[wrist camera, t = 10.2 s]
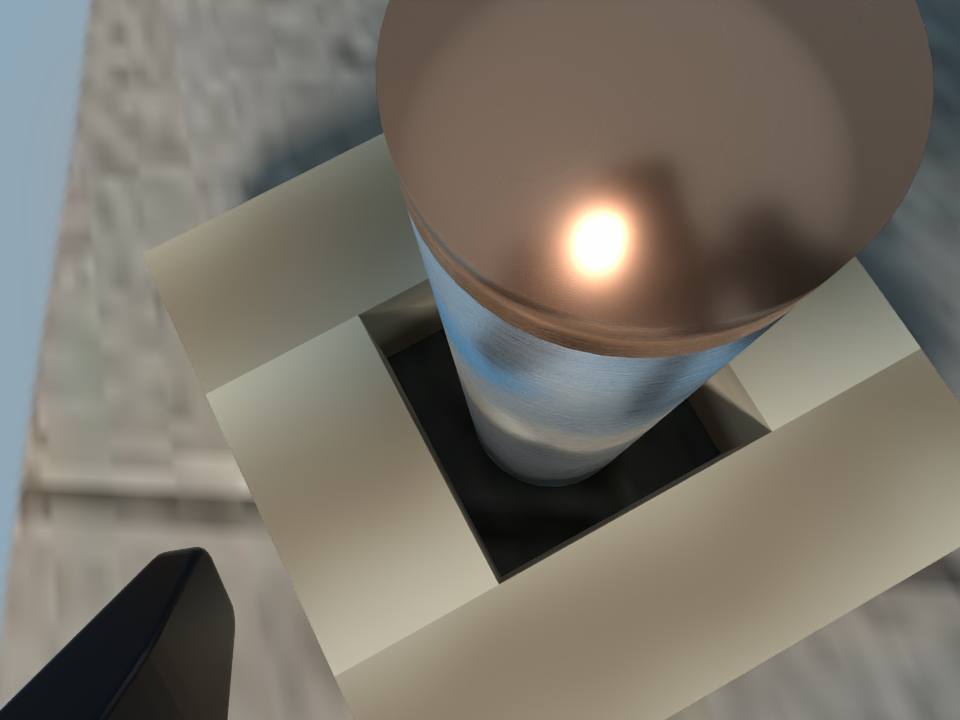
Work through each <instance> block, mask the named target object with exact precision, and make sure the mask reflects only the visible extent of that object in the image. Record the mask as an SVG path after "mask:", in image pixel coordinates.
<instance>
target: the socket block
mask: <svg viewBox="0 0 960 720" xmlns="http://www.w3.org/2000/svg"><path fill="white" fill-rule="evenodd" d="M142 256H143V258H144V261H145V263H146V265H147V267H148V269H149V272H150V274H151V276H152V278H153V280H154V283H155V285H156V287H157V289H158V291H159V293H160V296H161V298H162V300H163V302H164V304H165V307H166V309H167V311H168V313H169V315H170V318H171V320H172V322H173V324H174V326H175V328H176V331H177V333H178V335H179V337H180V339H181V342H182V344H183V346H184V348H185V350H186V353H187V355H188V357H189V359H190V361H191V364H192V366H193V368H194V370H195V372H196V374H197V377H198V379H199V381H200V383H201V385H202V388H203V390H204V392H205V394H206V396H207V399H208V401H209V403H210V405H211V407H212V409H213V412H214V414H215V416H216V418H217V420H218V423H219V425H220V427H221V429H222V431H223V434H224V436H225V438H226V440H227V442H228V444H229V447H230V449H231V451H232V453H233V455H234V458H235V460H236V462H237V464H238V466H239V469H240V471H241V473H242V475H243V477H244V480H245V482H246V484H247V486H248V488H249V490H250V493H251V495H252V497H253V499H254V501H255V504H256V506H257V508H258V510H259V512H260V515H261V517H262V519H263V521H264V523H265V525H266V528H267V530H268V532H269V534H270V536H271V539H272V541H273V543H274V545H275V547H276V550H277V552H278V554H279V556H280V558H281V560H282V563H283V565H284V567H285V569H286V571H287V574H288V576H289V578H290V580H291V582H292V585H293V587H294V589H295V591H296V593H297V595H298V598H299V600H300V602H301V604H302V606H303V609H304V611H305V613H306V615H307V617H308V620H309V622H310V624H311V626H312V628H313V631H314V633H315V635H316V637H317V639H318V641H319V644H320V646H321V648H322V650H323V652H324V655H325V657H326V659H327V661H328V663H329V666H330V668H331V670H332V672H333V674H334V676H335V679H336V681H337V683H338V685H339V687H340V690H341V692H342V694H343V696H344V698H345V701H346V703H347V705H348V707H349V709H350V711H351V714H352V716H353V718H354V720H666V719H667V718H669V717H671V716H672V715H674V714H676V713H677V712H679V711H681V710H683V709H684V708H686V707H688V706H689V705H691V704H693V703H695V702H696V701H698V700H700V699H701V698H703V697H705V696H706V695H708V694H710V693H712V692H713V691H715V690H717V689H718V688H720V687H722V686H724V685H725V684H727V683H729V682H730V681H732V680H734V679H735V678H737V677H739V676H741V675H742V674H744V673H746V672H747V671H749V670H751V669H753V668H754V667H756V666H758V665H759V664H761V663H763V662H764V661H766V660H768V659H770V658H771V657H773V656H775V655H776V654H778V653H780V652H781V651H783V650H785V649H787V648H788V647H790V646H792V645H793V644H795V643H797V642H799V641H800V640H802V639H804V638H805V637H807V636H809V635H810V634H812V633H814V632H816V631H817V630H819V629H821V628H822V627H824V626H826V625H828V624H829V623H831V622H833V621H834V620H836V619H838V618H839V617H841V616H843V615H845V614H846V613H848V612H850V611H851V610H853V609H855V608H857V607H858V606H860V605H862V604H863V603H865V602H867V601H868V600H870V599H872V598H874V597H875V596H877V595H879V594H880V593H882V592H884V591H885V590H887V589H889V588H891V587H892V586H894V585H896V584H897V583H899V582H901V581H903V580H904V579H906V578H908V577H909V576H911V575H913V574H914V573H916V572H918V571H920V570H921V569H923V568H925V567H926V566H928V565H930V564H932V563H933V562H935V561H937V560H938V559H940V558H942V557H943V556H945V555H947V554H949V553H950V552H952V551H954V550H955V549H957V548H959V547H960V402H959V401H958V400H957V398H956V397H955V395H954V394H953V392H952V391H951V390H950V388H949V387H948V385H947V384H946V383H945V381H944V380H943V378H942V377H941V376H940V374H939V373H938V371H937V370H936V369H935V367H934V366H933V364H932V363H931V361H930V360H929V359H928V357H927V356H926V354H925V353H924V352H923V350H922V349H921V347H920V346H919V345H918V343H917V342H916V340H915V339H914V338H913V336H912V335H911V333H910V332H909V331H908V329H907V328H906V326H905V325H904V323H903V322H902V321H901V319H900V318H899V316H898V315H897V314H896V312H895V311H894V309H893V308H892V307H891V305H890V304H889V302H888V301H887V300H886V298H885V297H884V295H883V294H882V292H881V291H880V290H879V288H878V287H877V285H876V284H875V283H874V281H873V280H872V278H871V277H870V276H869V274H868V273H867V271H866V270H865V269H864V267H863V266H862V264H861V263H860V262H859V260H858V259H857V257H856V256H855V257H854V258H853V259H851V260H850V261H849V262H848V263H847V264H846V265H844V266H843V267H842V268H841V269H840V270H839V271H837V272H836V273H835V274H834V275H833V276H831V277H830V278H829V279H828V280H827V281H825V282H824V283H823V284H822V285H821V286H820V287H818V288H817V289H816V290H815V291H814V292H812V293H811V294H810V295H809V296H808V297H806V298H805V299H804V300H803V301H802V302H800V303H799V304H798V305H797V306H796V307H795V308H793V309H792V310H791V311H790V312H789V313H787V314H786V315H785V316H784V317H783V318H781V319H780V320H779V321H778V322H777V323H775V324H774V325H773V326H772V327H771V328H769V329H768V330H767V331H766V332H765V333H764V334H762V335H761V336H760V337H759V338H758V339H756V340H755V341H754V342H753V343H752V344H750V345H749V346H748V347H747V348H746V349H744V350H743V351H742V352H741V353H740V354H739V355H737V356H736V357H735V358H734V359H733V360H731V361H730V362H729V363H728V364H727V365H725V366H724V367H723V368H722V369H721V370H719V371H718V372H717V373H716V374H715V375H713V376H712V377H711V378H710V379H709V380H708V381H706V382H705V383H704V384H703V385H702V386H700V387H699V388H698V389H697V390H696V391H694V392H693V393H692V394H691V395H690V396H688V397H687V400H688V402H689V403H690V405H691V406H692V408H693V410H694V411H695V413H696V415H697V416H698V418H699V419H700V421H701V423H702V424H703V426H704V428H705V429H706V431H707V432H708V434H709V436H710V437H711V439H712V440H713V442H714V444H715V445H716V447H717V449H718V450H719V452H720V453H721V454H720V455H718V456H716V457H715V458H713V459H711V460H709V461H707V462H706V463H704V464H702V465H700V466H699V467H697V468H695V469H693V470H691V471H690V472H688V473H686V474H684V475H682V476H681V477H679V478H677V479H675V480H673V481H672V482H670V483H668V484H666V485H665V486H663V487H661V488H659V489H657V490H656V491H654V492H652V493H650V494H648V495H647V496H645V497H643V498H641V499H640V500H638V501H636V502H634V503H632V504H631V505H629V506H627V507H625V508H623V509H622V510H620V511H618V512H616V513H614V514H613V515H611V516H609V517H607V518H606V519H604V520H602V521H600V522H598V523H597V524H595V525H593V526H591V527H589V528H588V529H586V530H584V531H582V532H580V533H579V534H577V535H575V536H573V537H572V538H570V539H568V540H566V541H564V542H563V543H561V544H559V545H557V546H555V547H554V548H552V549H550V550H548V551H547V552H545V553H543V554H541V555H539V556H538V557H536V558H534V559H532V560H530V561H529V562H527V563H525V564H523V565H521V566H520V567H518V568H516V569H514V570H513V571H511V572H509V573H507V574H505V575H504V576H502V577H501V575H500V573H499V571H498V569H497V567H496V565H495V564H494V562H493V560H492V558H491V556H490V554H489V552H488V550H487V548H486V546H485V544H484V543H483V541H482V539H481V537H480V535H479V533H478V531H477V529H476V527H475V525H474V524H473V522H472V520H471V518H470V516H469V514H468V512H467V510H466V508H465V506H464V504H463V503H462V501H461V499H460V497H459V495H458V493H457V491H456V489H455V487H454V485H453V483H452V482H451V480H450V478H449V476H448V474H447V472H446V470H445V468H444V466H443V464H442V463H441V461H440V459H439V457H438V455H437V453H436V451H435V449H434V447H433V445H432V443H431V442H430V440H429V438H428V436H427V434H426V432H425V430H424V428H423V426H422V424H421V422H420V421H419V419H418V417H417V415H416V413H415V411H414V409H413V407H412V405H411V403H410V402H409V400H408V398H407V396H406V394H405V392H404V390H403V388H402V386H401V384H400V382H399V381H398V379H397V377H396V375H395V373H394V371H393V369H392V367H391V365H390V363H389V361H388V360H387V358H389V357H390V356H392V355H394V354H396V353H398V352H400V351H402V350H404V349H406V348H408V347H409V346H411V345H413V344H415V343H417V342H419V341H421V340H423V339H425V338H427V337H428V336H430V335H432V334H434V333H436V332H438V331H440V330H442V329H444V327H443V323H442V320H441V317H440V314H439V310H438V307H437V304H436V301H435V297H434V294H433V291H432V288H431V284H430V281H429V278H428V275H427V271H426V268H425V265H424V262H423V258H422V255H421V252H420V249H419V245H418V242H417V239H416V236H415V233H414V229H413V226H412V223H411V220H410V216H409V213H408V210H407V207H406V203H405V200H404V197H403V194H402V190H401V187H400V184H399V181H398V177H397V174H396V171H395V168H394V164H393V161H392V158H391V155H390V151H389V148H388V145H387V142H386V138H385V135H384V133H382V134H380V135H378V136H376V137H374V138H372V139H370V140H368V141H366V142H364V143H362V144H360V145H358V146H356V147H354V148H352V149H350V150H348V151H346V152H344V153H342V154H340V155H338V156H336V157H334V158H332V159H330V160H328V161H326V162H324V163H322V164H320V165H318V166H316V167H314V168H312V169H310V170H308V171H306V172H304V173H302V174H300V175H298V176H296V177H294V178H292V179H290V180H288V181H286V182H284V183H282V184H280V185H278V186H276V187H274V188H272V189H270V190H268V191H266V192H264V193H262V194H260V195H258V196H256V197H254V198H252V199H250V200H249V201H247V202H245V203H243V204H241V205H239V206H237V207H235V208H233V209H231V210H229V211H227V212H225V213H223V214H221V215H219V216H217V217H215V218H213V219H211V220H209V221H207V222H205V223H203V224H201V225H199V226H197V227H195V228H193V229H191V230H189V231H187V232H185V233H183V234H181V235H179V236H177V237H175V238H173V239H171V240H169V241H167V242H165V243H163V244H161V245H159V246H157V247H155V248H153V249H151V250H149V251H147V252H145V253H143V254H142Z"/></svg>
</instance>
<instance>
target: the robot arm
mask: <svg viewBox="0 0 960 720" xmlns="http://www.w3.org/2000/svg"><path fill="white" fill-rule="evenodd" d="M234 636H235V616H234V610H233V606H232V604H231V601H230V599H229V596H228V594H227V592H226V590H225V587H224V585H223V583H222V581H221V578H220V576H219V574H218V572H217V569H216V567H215V565H214V563H213V560H212V558H211V556H210V555H209V553H208V552H207V551H206V550H205V549H203V548H200V547H193V548H186V549H180V550H174V551H168V552H164V553H161V554H159V555H158V556H156V557H155V558H154V559H153V560H152V561H151V562H150V563H149V564H148V565H147V566H146V567H145V568H144V569H143V570H142V571H141V572H140V573H139V574H138V575H137V576H136V577H135V578H134V579H133V580H132V581H131V582H130V583H129V584H128V585H127V586H126V587H124V588H123V589H122V590H121V591H120V592H119V593H118V594H117V595H116V596H115V597H114V598H113V599H112V600H111V601H110V602H109V603H108V604H107V605H106V606H105V607H104V608H103V609H102V610H101V611H100V612H99V613H98V614H97V615H96V616H95V617H94V618H93V619H92V620H91V621H90V622H89V623H88V624H87V625H86V626H85V627H84V628H83V629H82V630H81V631H80V632H79V633H78V634H77V635H76V636H75V637H74V638H73V639H72V640H71V641H70V642H69V643H68V644H67V645H66V646H65V647H64V648H63V649H62V650H61V651H60V652H59V653H58V654H57V655H56V656H55V657H54V658H53V659H52V660H51V661H50V662H49V663H48V664H47V665H46V666H45V667H44V668H43V669H42V670H41V671H40V672H39V673H38V674H36V675H35V676H34V677H33V678H32V679H31V680H30V681H29V682H28V683H27V684H26V685H25V686H24V687H23V688H22V689H21V690H20V691H19V692H18V693H17V694H16V695H15V696H14V697H13V698H12V699H11V700H10V701H9V702H8V703H7V704H6V705H5V706H4V707H3V708H2V709H1V710H0V720H227V718H228V706H229V695H230V683H231V671H232V659H233V648H234Z"/></svg>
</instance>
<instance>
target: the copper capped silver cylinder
mask: <svg viewBox="0 0 960 720" xmlns="http://www.w3.org/2000/svg"><path fill="white" fill-rule="evenodd" d="M376 94H377V100H378V107H379V113H380V120H381V125H382V129H383V132H384V135H385V138H386V142H387V145H388V148H389V151H390V155H391V158H392V161H393V164H394V168H395V171H396V174H397V177H398V181H399V184H400V187H401V190H402V194H403V197H404V200H405V203H406V207H407V210H408V213H409V216H410V220H411V223H412V226H413V229H414V233H415V236H416V239H417V242H418V245H419V249H420V252H421V255H422V258H423V262H424V265H425V268H426V271H427V275H428V278H429V281H430V284H431V288H432V291H433V294H434V297H435V301H436V304H437V307H438V310H439V314H440V317H441V320H442V323H443V327H444V330H445V333H446V336H447V340H448V343H449V346H450V349H451V353H452V356H453V359H454V362H455V366H456V369H457V372H458V375H459V378H460V382H461V385H462V388H463V391H464V395H465V398H466V401H467V404H468V408H469V411H470V414H471V417H472V421H473V424H474V427H475V430H476V434H477V437H478V439H479V441H480V443H481V445H482V447H483V448H484V450H485V452H486V453H487V455H488V456H489V457H490V458H491V459H492V461H493V462H494V463H495V464H496V465H497V466H499V467H500V468H501V469H502V470H503V471H505V472H506V473H508V474H509V475H511V476H512V477H514V478H516V479H518V480H520V481H523V482H526V483H528V484H532V485H537V486H544V487H561V486H567V485H572V484H575V483H578V482H581V481H583V480H585V479H588V478H590V477H591V476H593V475H595V474H596V473H598V472H599V471H600V470H602V469H603V468H604V467H605V466H606V465H607V464H609V463H610V462H611V461H612V460H613V459H615V458H616V457H617V456H618V455H619V454H621V453H622V452H623V451H624V450H625V449H627V448H628V447H629V446H630V445H631V444H632V443H634V442H635V441H636V440H637V439H638V438H640V437H641V436H642V435H643V434H644V433H646V432H647V431H648V430H649V429H650V428H652V427H653V426H654V425H655V424H656V423H657V422H659V421H660V420H661V419H662V418H663V417H665V416H666V415H667V414H668V413H669V412H671V411H672V410H673V409H674V408H675V407H677V406H678V405H679V404H680V403H681V402H683V401H684V400H685V399H686V398H687V397H688V396H690V395H691V394H692V393H693V392H694V391H696V390H697V389H698V388H699V387H700V386H702V385H703V384H704V383H705V382H706V381H708V380H709V379H710V378H711V377H712V376H713V375H715V374H716V373H717V372H718V371H719V370H721V369H722V368H723V367H724V366H725V365H727V364H728V363H729V362H730V361H731V360H733V359H734V358H735V357H736V356H737V355H739V354H740V353H741V352H742V351H743V350H744V349H746V348H747V347H748V346H749V345H750V344H752V343H753V342H754V341H755V340H756V339H758V338H759V337H760V336H761V335H762V334H764V333H765V332H766V331H767V330H768V329H769V328H771V327H772V326H773V325H774V324H775V323H777V322H778V321H779V320H780V319H781V318H783V317H784V316H785V315H786V314H787V313H789V312H790V311H791V310H792V309H793V308H795V307H796V306H797V305H798V304H799V303H800V302H802V301H803V300H804V299H805V298H806V297H808V296H809V295H810V294H811V293H812V292H814V291H815V290H816V289H817V288H818V287H820V286H821V285H822V284H823V283H824V282H825V281H827V280H828V279H829V278H830V277H831V276H833V275H834V274H835V273H836V272H837V271H839V270H840V269H841V268H842V267H843V266H844V265H846V264H847V263H848V262H849V261H850V260H851V259H853V258H854V257H855V256H856V255H857V254H858V253H860V252H861V251H862V250H863V249H864V248H865V247H866V246H867V245H868V244H869V243H870V242H871V241H872V240H873V238H874V237H875V236H876V235H877V234H878V233H879V232H880V230H881V229H882V228H883V227H884V226H885V225H886V224H887V222H888V221H889V220H890V218H891V217H892V215H893V214H894V212H895V211H896V209H897V208H898V206H899V204H900V203H901V201H902V200H903V198H904V197H905V195H906V193H907V192H908V190H909V188H910V186H911V183H912V181H913V179H914V176H915V174H916V172H917V170H918V167H919V165H920V163H921V161H922V157H923V154H924V150H925V146H926V142H927V139H928V135H929V131H930V127H931V118H932V109H933V100H934V83H933V62H932V57H931V52H930V47H929V42H928V37H927V32H926V28H925V26H924V23H923V20H922V17H921V14H920V11H919V9H918V6H917V3H916V0H389V3H388V7H387V10H386V13H385V17H384V20H383V24H382V27H381V31H380V38H379V45H378V52H377V59H376Z"/></svg>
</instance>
